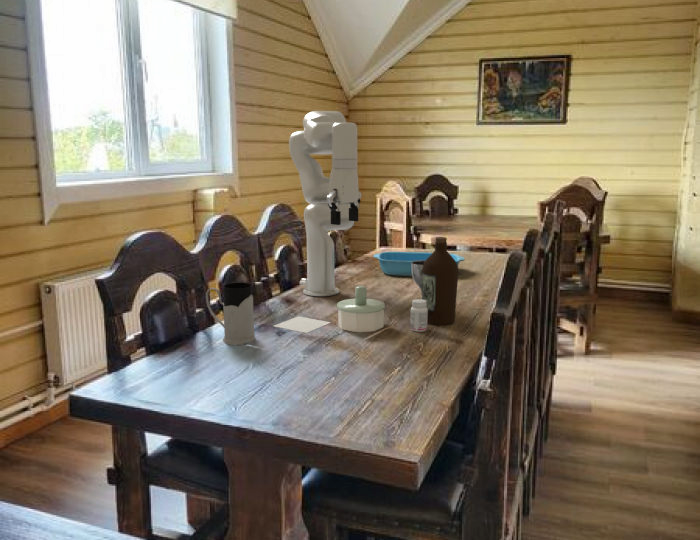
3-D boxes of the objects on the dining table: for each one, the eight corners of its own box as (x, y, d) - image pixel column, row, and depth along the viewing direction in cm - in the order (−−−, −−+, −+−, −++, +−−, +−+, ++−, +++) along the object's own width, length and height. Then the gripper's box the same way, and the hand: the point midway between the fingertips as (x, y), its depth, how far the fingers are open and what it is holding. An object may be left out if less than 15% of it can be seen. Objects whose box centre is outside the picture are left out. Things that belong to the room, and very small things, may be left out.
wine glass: (434, 312, 192) (436, 265, 189) (409, 311, 194) (410, 264, 191) (436, 306, 200) (437, 260, 197) (411, 304, 201) (412, 259, 198)
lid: (327, 308, 174) (327, 288, 172) (353, 298, 185) (353, 279, 184) (368, 315, 166) (369, 295, 165) (393, 305, 178) (393, 285, 176)
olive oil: (443, 314, 190) (446, 234, 185) (464, 323, 180) (467, 239, 175) (414, 318, 186) (415, 236, 181) (433, 327, 176) (435, 241, 171)
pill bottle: (428, 328, 176) (429, 299, 174) (425, 332, 172) (425, 303, 170) (412, 326, 178) (413, 298, 176) (408, 331, 173) (409, 302, 171)
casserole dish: (461, 268, 262) (462, 251, 260) (465, 279, 240) (466, 261, 238) (375, 266, 266) (375, 250, 264) (371, 277, 244) (371, 259, 242)
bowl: (331, 329, 175) (331, 308, 174) (354, 319, 185) (354, 299, 184) (367, 336, 168) (368, 315, 167) (389, 325, 179) (390, 305, 177)
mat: (272, 327, 176) (272, 326, 176) (298, 317, 186) (298, 316, 186) (306, 334, 170) (306, 332, 170) (331, 324, 180) (331, 322, 180)
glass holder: (245, 346, 160) (243, 290, 157) (199, 340, 165) (196, 286, 162) (261, 336, 168) (260, 283, 165) (217, 331, 173) (214, 279, 170)
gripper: (349, 164, 191) (349, 219, 195) (317, 165, 177) (317, 225, 181) (370, 164, 187) (370, 220, 191) (338, 166, 173) (339, 226, 177)
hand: (344, 222), depth 186 cm, fingers open, 9 cm apart
